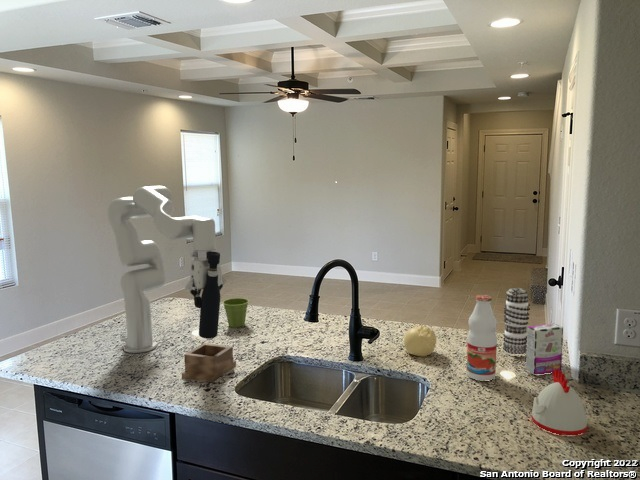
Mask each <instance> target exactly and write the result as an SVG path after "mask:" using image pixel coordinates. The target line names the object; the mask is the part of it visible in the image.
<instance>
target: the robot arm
mask: <svg viewBox="0 0 640 480" xmlns="http://www.w3.org/2000/svg"><path fill="white" fill-rule="evenodd" d="M174 210H175V205H174V203H173V194H172V192H171V190H170V189H169V188H168V187H167V186H163V185H150V186H141V187H138V188H137V189H135V190H134V191H133V193H132V196H124V197H117V198H115V199H113V200H112V201H110V202H109V204H108V207H107V219H108V222H109V224H110V226H111V229H112V231H113V233H114V236H115V242H116V247H117V253H118V257H119V260H120V261H119V262H120V263H121V265H122V266H124V267H126V268H128V267H129V268H131V267H139V266H146V267H143V268H137V269H132V270H128V271H126V272H125V273H123V274H122V276H121V277H120V287H121V291H122V296H123V299H124V300H123V302H124V313H125V326H126V327H125V328H126V334H123V335H122V336H121V337H120V342H121V343H122V342H124V345H123V351H124V352H126V353H130V354H139V353H145V352H146V353H147V352H149V351H152V350H154V349H156V348H157V346H158V342H157V341H155V340H153V325H152V322H153V321H152V307H151V302H150V300H149V298H148V297H147V296H146V295H145V294H146V293H148V292H154V291H156V290H160V289H162V288H163V287H164V286H165V285H166V282H167V281H166V279H167V278H166V277H167V276H166V271H165V267H164V264H163V263H164V262H163V257H162V251H161V249H160V247H159V245H158V244H157V243H156V242H155V241H153V240H150V239H149V240H148V239H147V240H140V236H139V232H138V229H137V227H136V226H135V225H134V223H133V222H132V221H130V220H133V219H142V218H143V219H144V218H145V219H146V218H151V217H152V218H153V223H154V227H155V229H156V231H157V232H159V233H160V234H162V235H163V236H165V237H166V238H168V239H170V240H173V241H179V240H184V239H185V240H186V239H192V247H193V249H192V252H190V254H189V256H190V258H192V257H193V258H192V259H191V262H190V263H191V264H190V265H191V266H190V276H189V277H190V280H189V281H188V282H187V284H186V285H185V287H184V289H185V290H186V291H188V292H189V293H190V294H191V295H192V297H193V301H194V302H193V305H194V306H195V308H197V309H201V296H200V295H201V293H202V290H203V289H204V287H205V284H206V281H207V274H208V270H209V266H210V264H209V263H208V253H209V252H217V239H216V221H215V220H214V219H213V218H210V217H202V216H199V215H189V216H179V217H172V216H173V214H174V213H175V211H174ZM217 270H218V274H217V275H218V286H219V289H220V291H221V290H222V288H223V287H224V285H225V284H226V282H227V280H226V279H225V277H223V276H222V267H221V263H219V264H217Z"/></svg>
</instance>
